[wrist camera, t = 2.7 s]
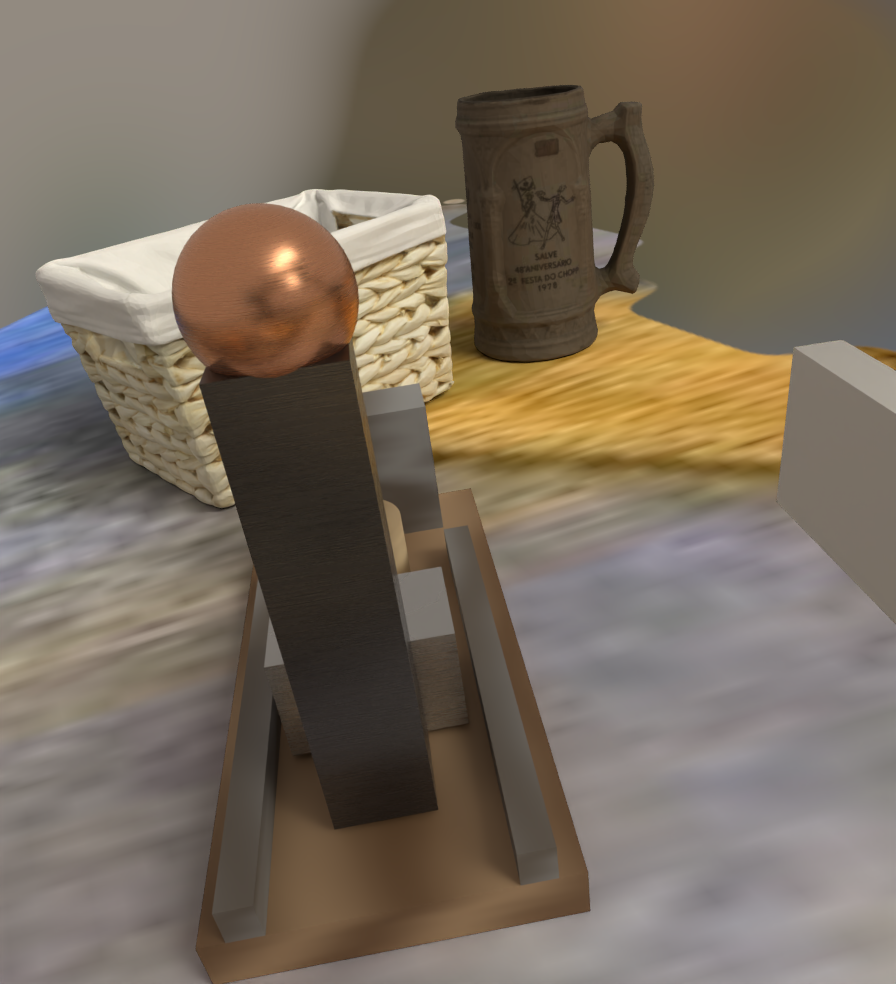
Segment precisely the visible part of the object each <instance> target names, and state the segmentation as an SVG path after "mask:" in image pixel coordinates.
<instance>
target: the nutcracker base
mask: <svg viewBox="0 0 896 984" xmlns="http://www.w3.org/2000/svg"><path fill="white" fill-rule="evenodd" d="M362 393H363V398H364V403H365V408H366V414H367V419H368V424H369V429H370V434H371V440H372V445H373V450H374V455H375V460H376V465H377V471H378V476H379V481H380V486H381V491H382V497H383V500H385V501H388V502H390V503H392V504H394V505H395V506H396V507H397V508H398V509H399V511H400V514H401V520H402V525H403V531H404V536H405V542H406V547H407V553H408V558H409V564H410V569H411V572H413V571H419V570H424V569H430V568H436V567H441V568H442V573H443V578H444V583H445V588H446V592H447V597H448V602H449V607H450V612H451V617H452V622H453V627H454V632H455V638H456V644H457V650H458V657H459V663H460V670H461V676H462V683H463V689H464V696H465V702H466V709H467V715H468V722H469V724H463V725H458V726H452V727H447V728H442V729H436V730H431V731H428V737H429V744H430V751H431V759H432V766H433V773H434V780H435V788H436V795H437V802H438V810H436V811H430V812H425V813H420V814H414V815H409V816H404V817H399V818H393V819H388V820H383V821H378V822H372V823H367V824H362V825H356V826H351V827H346V828H341V829H335V830H334V826H333V823H332V820H331V817H330V813H329V810H328V807H327V803H326V800H325V797H324V794H323V790H322V787H321V784H320V780H319V777H318V774H317V771H316V767H315V764H314V761H313V757H312V754H311V753H307V754H301V755H296V756H292V753H291V749H290V746H289V743H288V740H287V737H286V734H285V731H284V728H283V725H282V722H281V718H280V715H279V712H278V709H277V706H276V703H275V700H274V697H273V694H272V691H271V687H270V684H269V681H268V678H267V675H266V672H265V669H264V663H265V654H266V645H267V636H268V627H269V617H270V616H269V613H268V610H267V606H266V603H265V600H264V597H263V593H262V590H261V587H260V583H259V580H258V577H257V574H256V570H255V567H254V564H253V571H252V577H251V584H250V590H249V597H248V604H247V610H246V617H245V624H244V630H243V637H242V644H241V650H240V657H239V664H238V670H237V677H236V683H235V690H234V697H233V703H232V710H231V717H230V723H229V730H228V737H227V743H226V750H225V756H224V763H223V770H222V776H221V783H220V790H219V796H218V803H217V810H216V816H215V823H214V829H213V836H212V843H211V849H210V856H209V863H208V869H207V876H206V883H205V889H204V896H203V903H202V909H201V916H200V922H199V929H198V936H197V942H196V951H197V953H198V955H199V957H200V959H201V961H202V963H203V965H204V967H205V969H206V971H207V973H208V975H209V977H210V979H211V981H212V983H213V984H223V983H228V982H233V981H238V980H243V979H248V978H253V977H258V976H263V975H269V974H274V973H279V972H284V971H289V970H294V969H299V968H304V967H309V966H314V965H319V964H324V963H329V962H334V961H339V960H344V959H350V958H355V957H360V956H365V955H370V954H375V953H380V952H385V951H390V950H395V949H400V948H405V947H410V946H415V945H420V944H426V943H431V942H436V941H441V940H446V939H451V938H456V937H461V936H466V935H471V934H476V933H481V932H486V931H491V930H496V929H501V928H507V927H512V926H517V925H522V924H527V923H532V922H537V921H542V920H547V919H552V918H557V917H562V916H567V915H572V914H577V913H583V912H588V911H590V898H589V879H588V870H587V867H586V864H585V861H584V857H583V854H582V851H581V848H580V844H579V841H578V838H577V834H576V831H575V828H574V825H573V821H572V818H571V815H570V812H569V808H568V805H567V802H566V798H565V795H564V792H563V789H562V785H561V782H560V779H559V776H558V772H557V769H556V766H555V762H554V759H553V756H552V753H551V749H550V746H549V743H548V739H547V736H546V733H545V730H544V726H543V723H542V720H541V717H540V713H539V710H538V707H537V703H536V700H535V697H534V694H533V690H532V687H531V684H530V681H529V677H528V674H527V671H526V667H525V664H524V661H523V658H522V654H521V651H520V648H519V645H518V641H517V638H516V635H515V631H514V628H513V625H512V622H511V618H510V615H509V612H508V609H507V605H506V602H505V599H504V595H503V592H502V589H501V586H500V582H499V579H498V576H497V573H496V569H495V566H494V563H493V559H492V556H491V553H490V550H489V546H488V543H487V540H486V537H485V533H484V530H483V527H482V523H481V520H480V517H479V514H478V510H477V507H476V504H475V501H474V497H473V494H472V491H471V488H470V489H464V490H459V491H453V492H447V493H441V494H438V489H437V482H436V475H435V469H434V462H433V455H432V449H431V442H430V436H429V429H428V422H427V416H426V409H425V404H424V400H423V396H422V392H421V388H420V384H419V383H417V384H411V385H405V386H399V387H393V388H387V389H381V390H375V391H369V392H362Z"/></svg>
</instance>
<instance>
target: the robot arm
mask: <svg viewBox="0 0 896 984" xmlns="http://www.w3.org/2000/svg"><path fill="white" fill-rule="evenodd" d="M777 503H778V504H779V505H780V506H781V507H782V508H783V509H784V510H785V511H786V512H787V513H788V514H789V515H790V516H791V517H792V518H793V519H794V520H795V521H796V522H797V523H798V524H799V525H800V526H801V527H802V528H803V529H804V530H805V531H806V532H807V533H808V534H809V536H810V537H811V538H812V539H813V540H814V541H815V542H816V543H817V544H818V545H819V546H820V547H821V548H822V549H823V550H824V551H825V552H826V553H827V554H828V555H829V556H830V557H831V558H832V559H833V560H834V561H835V562H836V563H837V564H838V565H839V566H840V567H841V568H842V569H843V570H844V572H845V573H846V574H847V575H848V576H849V577H850V578H851V579H852V580H853V581H854V582H855V583H856V584H857V585H858V586H859V587H860V588H861V589H862V590H863V591H864V592H865V593H866V594H867V595H868V596H869V597H870V598H871V599H872V600H873V601H874V602H875V603H876V604H877V605H878V606H879V608H880V609H881V610H882V611H883V612H884V613H885V614H886V615H887V616H888V617H889V618H890V619H891V620H892V621H893V622H894V623H895V624H896V371H895V370H893V369H892V368H890V367H888V366H886V365H885V364H883V363H881V362H880V361H878V360H876V359H874V358H873V357H871V356H869V355H867V354H866V353H864V352H862V351H861V350H859V349H857V348H855V347H854V346H852V345H850V344H848V343H847V342H845V341H843V340H838V341H831V342H825V343H819V344H812V345H806V346H799V347H794V350H793V359H792V368H791V377H790V386H789V395H788V404H787V413H786V422H785V431H784V440H783V449H782V458H781V467H780V476H779V485H778V494H777Z"/></svg>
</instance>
